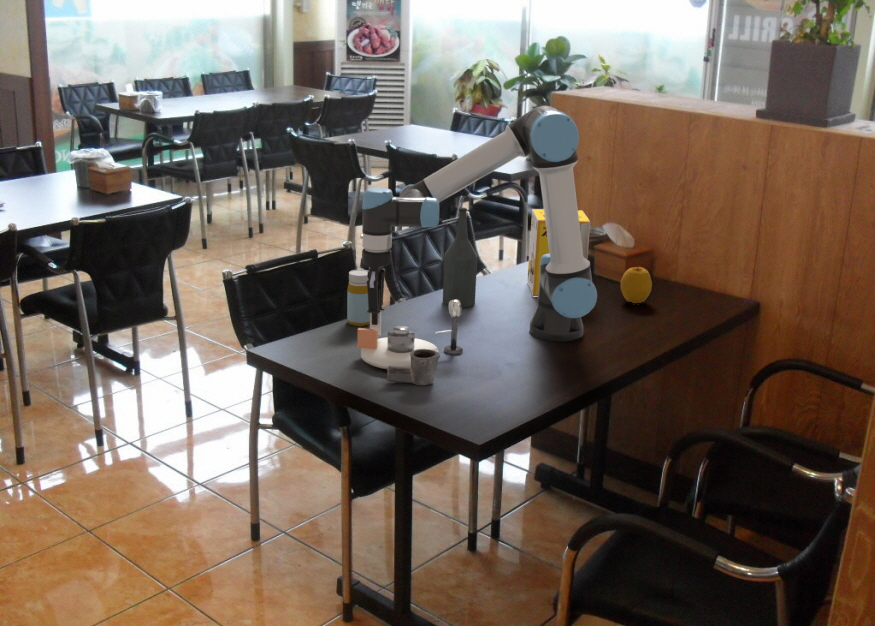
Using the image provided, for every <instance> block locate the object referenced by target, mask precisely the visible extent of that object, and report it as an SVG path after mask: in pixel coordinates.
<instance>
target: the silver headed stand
mask: <svg viewBox="0 0 875 626" xmlns="http://www.w3.org/2000/svg"><path fill="white" fill-rule="evenodd" d="M447 308H448V312H449V314H450V316H451V328H450V329H448V330H442V331H435V334H436V335H437V334H438V335H439V334H446V333H450V345H447V346H444V348H443V353H444V354H446V355H450V356H458V355H461V354H464V353H463V351H464V349H463V347H462V346H459V345H458V343H457V341H458V321H459V320H458V319H459V317H461V315H462V312H463V309H462V306H461V303H460V301H459V300H451V301H450V302H449V305H448V306H447Z"/></svg>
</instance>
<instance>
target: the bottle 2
mask: <svg viewBox="0 0 875 626" xmlns="http://www.w3.org/2000/svg"><path fill="white" fill-rule="evenodd" d="M458 211H459V212H458V220H457V225H456V226H457V227H456V232H455V233H456V234H455V238H454V240H453V241H452V243H451V244H450V246H449V247H448V249H447V250H446V251H445V253H444V256H443V257H444V259H443V278H442V279H443V280H442V283H443V285H442V303H443V305H444V306H445V307H448V305H449V302H450V301H451V300H459V301H460V303H461V306H462V310H463V309H470V308H472V307H474V305H475V303H476V293H477V292H476V291H477V290H476V289H477V288H476V287H477V273H478V272H477V268H478V253H477V252H476V250H475V249H474V247H473V245H472V243H471V241H470V240H469V237H468V235H469V234H468V219H467V211H468V209H467V208H466V207H459V209H458Z"/></svg>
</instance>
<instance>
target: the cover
mask: <svg viewBox="0 0 875 626" xmlns="http://www.w3.org/2000/svg"><path fill="white" fill-rule="evenodd" d="M415 335H416V334H415V332H414V331H412V330H410V327H408V326H406V325H396V326H394V327H393V329H391V330H389V331H388V332H387V337H388V341H387V349H388V350H389V351H391V352H395V353H408V352H411V351H413V350H414V342H415V338H416V336H415Z"/></svg>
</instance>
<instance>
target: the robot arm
mask: <svg viewBox="0 0 875 626" xmlns="http://www.w3.org/2000/svg"><path fill="white" fill-rule="evenodd" d="M579 141H580V133H579V129H578V126H577V124H576V123H575V120H573V118H572V117H571V116H569V115H568V114H567V113H566V112H563V111H561V110H559V109H558V108H556V107H554V106H551V105H541V106H537V107H534V108H532V109H531V110H528V111H527V112H526V113H524V114H523V115H522V116H521V115H520V117H518V118H517V119H515V120H513V121H512V122H511V123H508V124H507V125H505V130H504V131H503V132H501V133H499V134H498V135H496V136H494V137H492V138H491V139H489V140H487V141H486V142H484V143H482V144H481V145H478V146H477V147H476V148H474V149H472V150H471V151H469V152H467V153H465V154H464V155H462V156H460V157H459V158H457V159H455V160H454V161H452V162H451V163H449V164H447V165H445V166H444V167H442V168H440V169H439V170H437V171H435V172H433V173H431V174H430V175H428V176H427V177H425V178H423V179H422V180H420V181H418V182H417V183H414V184H408V185H406V186H404V187H403V188H402V189H401V191H400V193H399V196H394V195H393V191H392V189H390V188H387V187H369V188H367V189H365V190H364V191H363V193H362V207H361V209H362V210H361V211H362V217H361V218H362V220H361V221H362V224H361V225H362V227H361V228H362V229H361V230H362V234H360V236H359V238H360V239H362V242H361V243H362V245H361V247H362V249H361V262H362V264H363V265H365V266H368V267H369V270H367V271H368V275H367V277H368V280H367V288H368V310H367V313H370V324H369V329H378V337H381V335H382V311H385V307H383V305H384V291H385V276H386V269H385V268H384V267H386V266H390V265H391V263H392V250H391V248H393V247H392V245H393V242H392V241H393V240H392V239H393V238H392V237H393V236H392V235H393V231H392V227H400V228H423V229H425V228H435V227H437V226H438V225H439V222H440V221H439V220H440V203H441V202H443V201H445V200H446V199H448V198H449V197H451V196H453V195H455V194H456V193H458V192H461V190H463V189H465V188H467V187H468V186H470V185H472V184H474V183H475V182H477V181H479V180H480V179H482V178H484V177H486V176H488V175H489V174H491V173H493V172H494V171H496V170H498V169H499V168H502V167H503V166H505V165H506V164H508V163H510V162H512V161H513V160H515V159H516V158H518V157H522V158H526V157H528V156H529V155H530V159H531V166H532V167H531V168H533V169H534V170H535V171H537V173H538V174H539V182H540V183H539V184H540V189H541V198H542V205H543V209H544V214H545V221H546V229H547V237H548V244H549V252H550V253H549V254H544V255H543V256H542V257H541V263H540V276H539V291H538V298H537V305H536V308H535V311H534V313H533V315H532V318H531V320H530V323H529V333H530V335H532V336H534V337H535V338H538V339H541V340H545V341H550V342H558V343H559V342H572V340H574V341H576V340H575V339H577V340H579V339H578V338H580V337H581V338H583V336H584V324H583V319H582V317H584V316H586V315H587V314H589V313H590V312H591V311H592V310H593V309H594V308H595V306H596V303H597V300H598V292H597V291H598V290H597V288H596V286H595V284H594V282H593V278H592V277H593V276H592V271H591V261H590V260H588V258H587V259H586V258H584V257H583V250H582V241H581V233H580V224H579V216H578V209H579V207H578V201H577V194H576V191H577V190H576V184H575V183H576V182H575V175H574V167H575V166H576V165H577V163H578V162H579V158H578V145H579ZM581 338H580V339H581Z"/></svg>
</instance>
